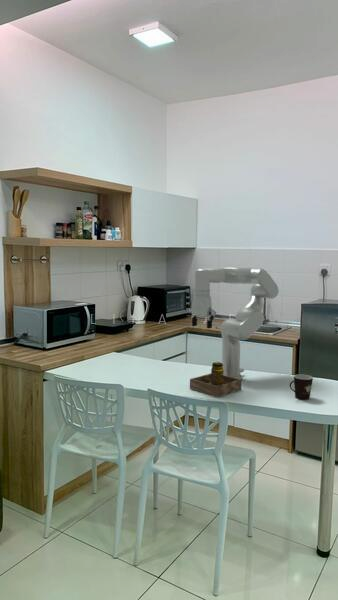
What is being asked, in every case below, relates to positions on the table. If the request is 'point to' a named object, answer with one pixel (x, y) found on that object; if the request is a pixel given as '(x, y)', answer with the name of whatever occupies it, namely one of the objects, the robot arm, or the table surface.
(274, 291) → the robot arm
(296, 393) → the coffee mug
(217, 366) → the condiment
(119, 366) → the table surface
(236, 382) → the crate
